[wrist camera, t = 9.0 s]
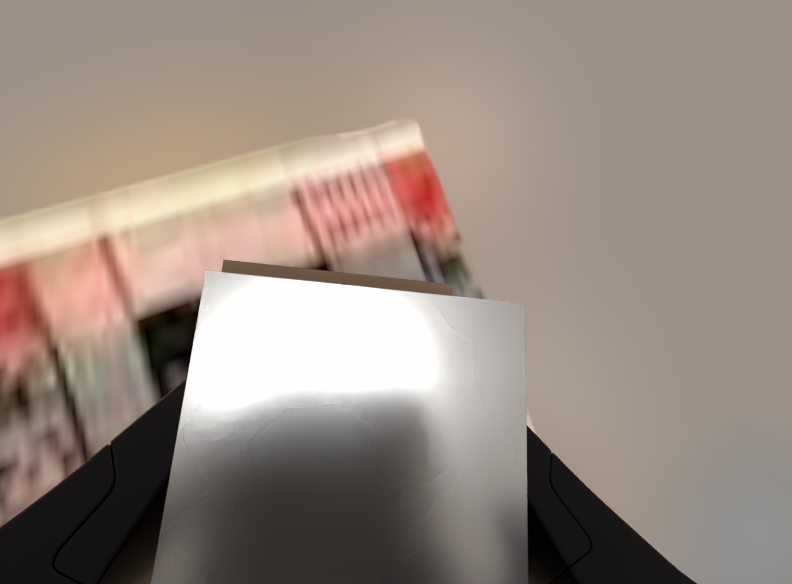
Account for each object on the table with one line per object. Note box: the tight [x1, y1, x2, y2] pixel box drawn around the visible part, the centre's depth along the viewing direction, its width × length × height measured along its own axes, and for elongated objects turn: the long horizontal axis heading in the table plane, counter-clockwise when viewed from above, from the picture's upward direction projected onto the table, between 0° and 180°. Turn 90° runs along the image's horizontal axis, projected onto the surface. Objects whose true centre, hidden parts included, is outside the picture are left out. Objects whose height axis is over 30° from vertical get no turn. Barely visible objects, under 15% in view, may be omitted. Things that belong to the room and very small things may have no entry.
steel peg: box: [151, 271, 528, 584], centre depth 10 cm, size 4×4×11 cm
